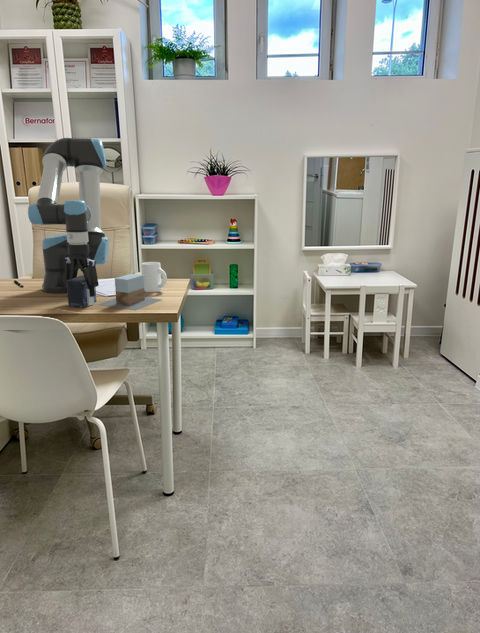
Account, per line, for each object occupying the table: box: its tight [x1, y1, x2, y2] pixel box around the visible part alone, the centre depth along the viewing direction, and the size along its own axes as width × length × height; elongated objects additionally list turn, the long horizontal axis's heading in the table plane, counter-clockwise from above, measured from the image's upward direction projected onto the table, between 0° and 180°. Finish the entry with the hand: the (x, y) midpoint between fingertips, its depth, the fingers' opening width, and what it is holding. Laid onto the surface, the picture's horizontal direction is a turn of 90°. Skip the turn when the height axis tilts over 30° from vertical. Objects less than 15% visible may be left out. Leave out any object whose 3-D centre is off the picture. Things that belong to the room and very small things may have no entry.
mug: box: [141, 261, 168, 293], centre depth 205 cm, size 8×12×12 cm
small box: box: [67, 274, 97, 309], centre depth 182 cm, size 11×6×10 cm, turn 168°
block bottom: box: [115, 288, 146, 306], centre depth 186 cm, size 6×10×5 cm, turn 155°
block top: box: [114, 273, 144, 293], centre depth 185 cm, size 6×10×5 cm, turn 155°
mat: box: [97, 296, 164, 311], centre depth 187 cm, size 18×18×1 cm
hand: (82, 303), depth 183 cm, fingers closed on small box, 7 cm apart
